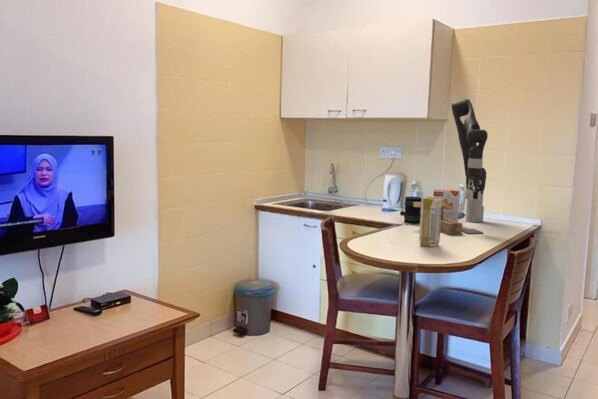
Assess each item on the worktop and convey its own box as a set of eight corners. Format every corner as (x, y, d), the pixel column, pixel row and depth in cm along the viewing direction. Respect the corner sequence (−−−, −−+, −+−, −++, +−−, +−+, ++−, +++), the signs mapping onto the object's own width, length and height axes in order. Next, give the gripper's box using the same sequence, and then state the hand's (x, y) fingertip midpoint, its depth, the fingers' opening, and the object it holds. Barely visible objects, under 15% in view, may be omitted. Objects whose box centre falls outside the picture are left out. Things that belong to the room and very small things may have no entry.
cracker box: (431, 224, 306) (433, 189, 304) (433, 222, 312) (435, 188, 309) (455, 227, 300) (458, 190, 297) (458, 225, 305) (460, 189, 302)
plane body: (444, 227, 298) (445, 216, 297) (462, 234, 278) (463, 223, 277) (430, 227, 296) (431, 217, 296) (447, 235, 276) (448, 223, 276)
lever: (442, 217, 295) (443, 201, 294) (445, 218, 292) (446, 202, 291) (412, 217, 292) (413, 201, 291) (414, 218, 289) (415, 202, 288)
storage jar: (419, 221, 317) (420, 196, 315) (421, 224, 307) (423, 198, 305) (402, 220, 318) (404, 196, 316) (404, 223, 308) (405, 198, 306)
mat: (473, 230, 291) (473, 228, 291) (483, 233, 281) (483, 232, 281) (458, 230, 289) (459, 229, 289) (468, 234, 280) (468, 232, 279)
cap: (475, 198, 286) (476, 189, 285) (480, 199, 281) (480, 190, 280) (465, 198, 285) (466, 189, 284) (470, 199, 280) (470, 190, 279)
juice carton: (425, 242, 257) (428, 194, 254) (441, 245, 252) (443, 195, 249) (417, 245, 250) (419, 195, 246) (432, 248, 245) (435, 197, 242)
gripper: (461, 165, 287) (460, 196, 289) (475, 168, 273) (473, 200, 275) (474, 166, 288) (472, 196, 291) (488, 168, 274) (486, 200, 277)
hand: (472, 198), depth 283 cm, fingers closed on cap, 5 cm apart
